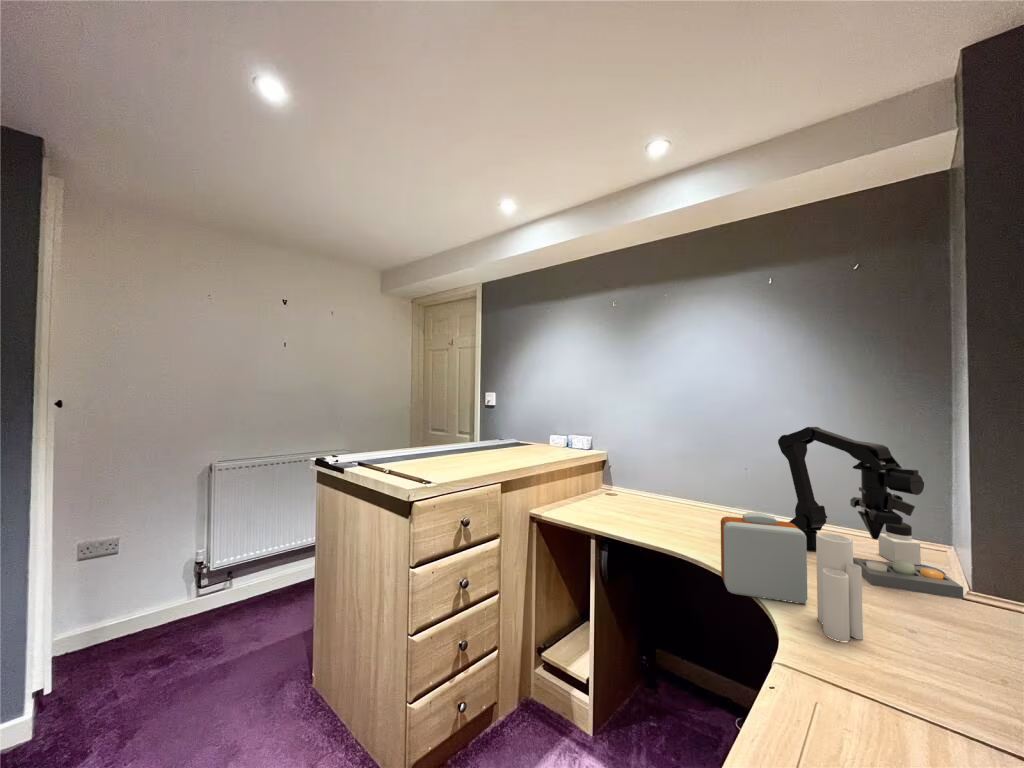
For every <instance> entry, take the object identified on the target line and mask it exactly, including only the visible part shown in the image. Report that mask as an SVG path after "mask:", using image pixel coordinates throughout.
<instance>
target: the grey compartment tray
mask: <svg viewBox="0 0 1024 768" xmlns="http://www.w3.org/2000/svg"><path fill="white" fill-rule="evenodd" d="M866 561H876V562H880V563H883V564H885V565H886V566H887V572H885V571H878V570H871V569H868V568H867V567H866ZM853 564H856V565H859V566H861V569H862V578H863V579H864V580H865V581H866V582H867V583H868V584H870V585H872V586H878V587H884V588H890V589H898V590H905V591H911V592H916V593H921V594H929V595H936V596H944V597H950V598H956V599H964V586H962V585H961V584H959V583H957V582H956V581H955V580H953V579H952V578H950V576H947V575H946V574H944V573H943V580H941V579H934V578H927V577H924V576H923V575H921V574H920V568H929V569H933V570H937V571H940V570H939V569H937V568H936V567H935V568H934V567H928V566H927V567H925V566H921V565H914V573H915V576H913V575H906V574H899V573H896V572H895V571H893V562H892V561H882V560H876V559H875V560H874V559H868V558H867V559H866V558H860V557H853Z"/></svg>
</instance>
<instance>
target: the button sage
mask: <svg viewBox="0 0 1024 768" xmlns="http://www.w3.org/2000/svg"><path fill="white" fill-rule="evenodd" d="M892 563H893V571H895V572H896V573H899V574H906V575H913V576H915V573H914V566H915V565H913V564H911V563H909V562H905V561H900V560H893V562H892Z"/></svg>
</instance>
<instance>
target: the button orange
mask: <svg viewBox="0 0 1024 768" xmlns="http://www.w3.org/2000/svg"><path fill="white" fill-rule="evenodd" d="M929 568H930V567H928V568H920V574H921V575H923V576H924V577H927V578H934V579H941V580H943V574H944V573H943V572H942V571H940V570H939V571H937V570H938V569H937V570H933V569H929Z"/></svg>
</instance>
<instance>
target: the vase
mask: <svg viewBox="0 0 1024 768" xmlns="http://www.w3.org/2000/svg"><path fill="white" fill-rule="evenodd" d="M853 544H854V543H853V539H851V538H850V537H847V536H844V535H841V534H837V533H831V532H817V534H816V551H815V553H816V597H817V598H816V599H817V601H816V602H817V603H816V604H817V611H816V612H817V621H818V620H819V621H820V622H821V623H823V625H822V627H823V628H822V629H823V630H822V631H824V632H823V634H824V633H825V634H826V635H827V636H829V637H831V638H833V639H836V640H839V641H849V640H850V639H851V637H850V636H852V637H854V638H857V639H863V640H864V625H863V621H864V620H863V618H864V617H863V584H862V583H863V576H862V569H861V566H859V565H856V564H853V558H854V545H853ZM819 621H818V622H819ZM820 622H819V623H820ZM821 623H820V624H821ZM825 634H824V635H825ZM826 635H825V636H826ZM827 636H826V637H827ZM850 641H851V640H850ZM850 641H849V642H850Z"/></svg>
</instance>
